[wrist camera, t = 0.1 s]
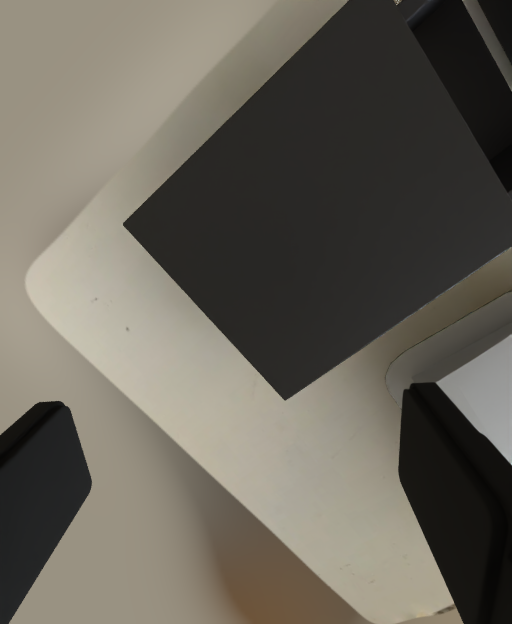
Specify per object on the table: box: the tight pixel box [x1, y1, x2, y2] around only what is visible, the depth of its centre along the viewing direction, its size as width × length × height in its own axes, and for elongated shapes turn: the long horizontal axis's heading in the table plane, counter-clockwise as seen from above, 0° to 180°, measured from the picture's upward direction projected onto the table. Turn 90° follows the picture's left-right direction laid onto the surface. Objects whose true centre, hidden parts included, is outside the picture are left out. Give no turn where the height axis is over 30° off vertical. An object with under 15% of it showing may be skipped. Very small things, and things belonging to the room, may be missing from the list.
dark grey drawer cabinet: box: [123, 0, 512, 400], centre depth 22 cm, size 16×14×10 cm
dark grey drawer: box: [397, 0, 512, 200], centre depth 19 cm, size 19×12×8 cm, turn 130°
